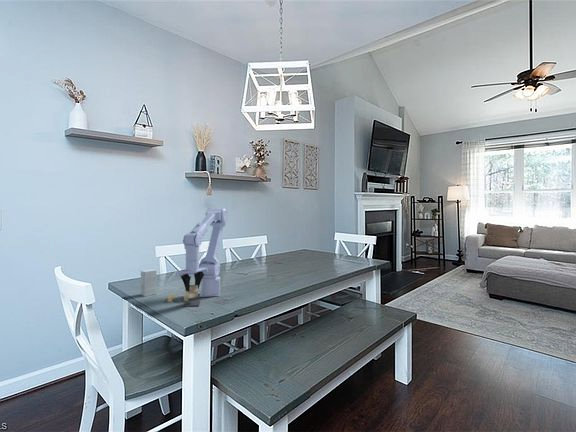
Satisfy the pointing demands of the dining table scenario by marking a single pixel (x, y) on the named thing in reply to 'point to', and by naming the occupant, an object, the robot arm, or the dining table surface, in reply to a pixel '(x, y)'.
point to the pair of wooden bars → (173, 298)
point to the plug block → (192, 291)
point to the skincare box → (148, 282)
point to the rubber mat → (192, 303)
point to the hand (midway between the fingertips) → (192, 289)
